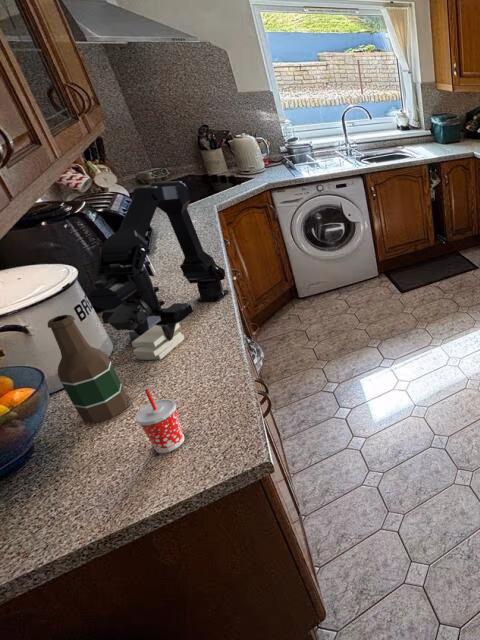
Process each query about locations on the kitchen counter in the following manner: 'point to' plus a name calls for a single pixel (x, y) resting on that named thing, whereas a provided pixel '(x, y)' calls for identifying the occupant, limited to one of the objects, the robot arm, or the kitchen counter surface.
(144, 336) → the white book
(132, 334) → the dark grey rectangular block
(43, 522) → the kitchen counter surface
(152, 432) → the beverage cup
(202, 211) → the kitchen counter surface
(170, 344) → the cream flat block
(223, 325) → the kitchen counter surface
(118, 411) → the beer bottle
